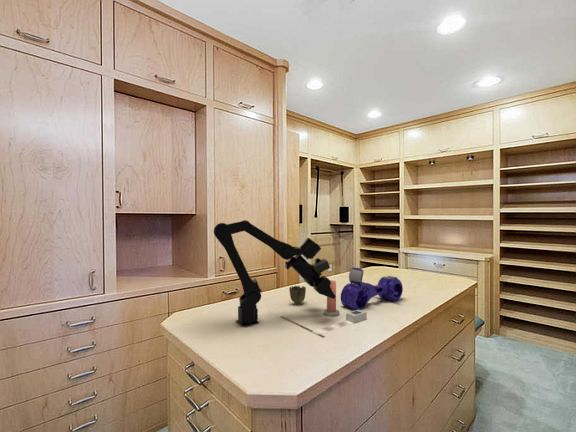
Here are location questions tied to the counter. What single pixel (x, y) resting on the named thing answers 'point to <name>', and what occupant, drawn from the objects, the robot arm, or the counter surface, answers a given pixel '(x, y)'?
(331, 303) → the marker peg
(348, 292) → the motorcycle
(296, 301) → the cup
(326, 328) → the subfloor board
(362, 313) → the gray rectangular block
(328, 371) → the counter surface
